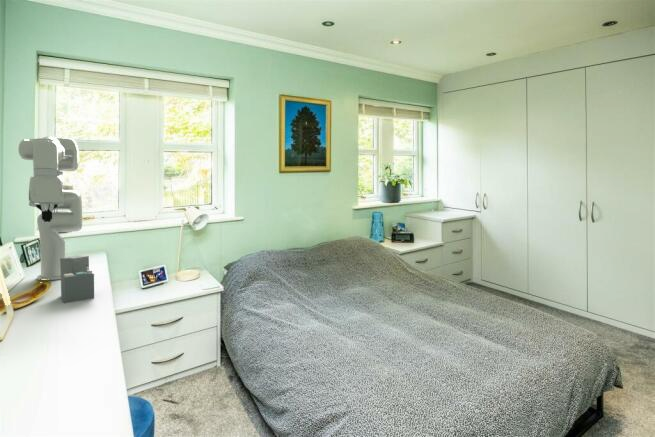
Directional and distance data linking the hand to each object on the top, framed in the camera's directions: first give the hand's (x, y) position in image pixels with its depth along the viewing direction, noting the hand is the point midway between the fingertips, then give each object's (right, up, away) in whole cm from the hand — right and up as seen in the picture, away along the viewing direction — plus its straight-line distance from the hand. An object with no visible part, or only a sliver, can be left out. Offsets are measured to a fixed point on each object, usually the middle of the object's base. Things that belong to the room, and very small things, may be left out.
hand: (47, 221), depth 142 cm
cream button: (+7, -24, +2) cm, 25 cm away
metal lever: (+11, -21, +8) cm, 25 cm away
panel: (+8, -31, +5) cm, 33 cm away
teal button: (+9, -24, +5) cm, 26 cm away
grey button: (+12, -21, +7) cm, 25 cm away
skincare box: (+3, -31, +12) cm, 33 cm away
